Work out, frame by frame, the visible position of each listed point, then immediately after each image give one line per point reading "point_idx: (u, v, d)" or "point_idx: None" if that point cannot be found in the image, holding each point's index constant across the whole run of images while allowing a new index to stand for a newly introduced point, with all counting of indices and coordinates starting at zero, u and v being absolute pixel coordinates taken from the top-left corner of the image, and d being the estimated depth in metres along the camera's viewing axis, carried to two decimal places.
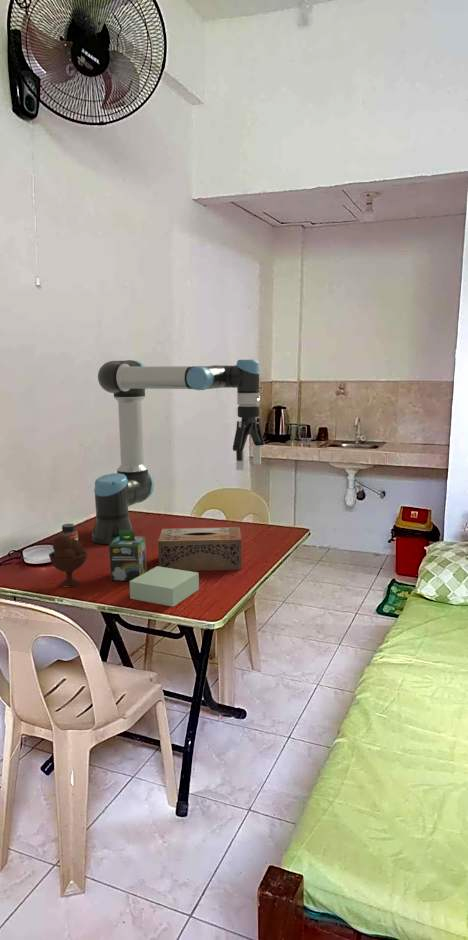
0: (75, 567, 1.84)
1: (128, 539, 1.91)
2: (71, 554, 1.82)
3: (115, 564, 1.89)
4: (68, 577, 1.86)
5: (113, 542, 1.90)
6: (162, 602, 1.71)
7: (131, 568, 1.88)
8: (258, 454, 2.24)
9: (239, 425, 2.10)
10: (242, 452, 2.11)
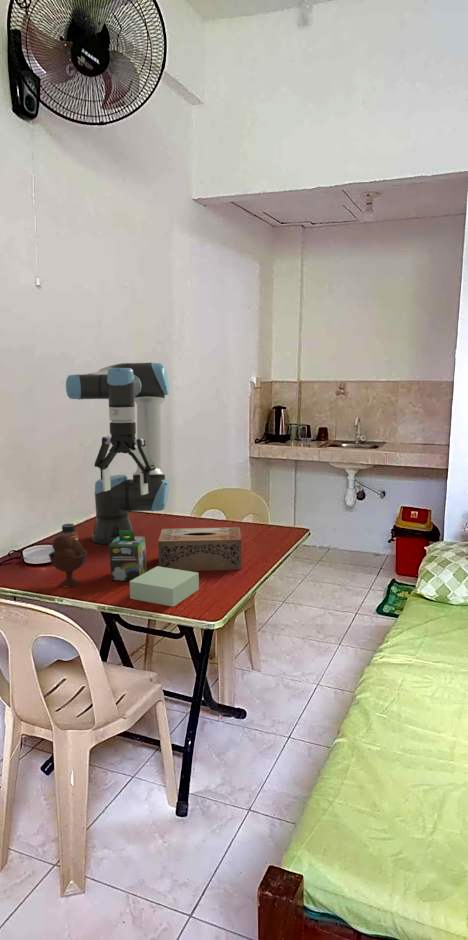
0: (75, 567, 1.84)
1: (128, 539, 1.91)
2: (71, 554, 1.82)
3: (115, 564, 1.89)
4: (68, 577, 1.86)
5: (113, 542, 1.90)
6: (162, 602, 1.71)
7: (131, 568, 1.88)
8: None
9: None
10: None
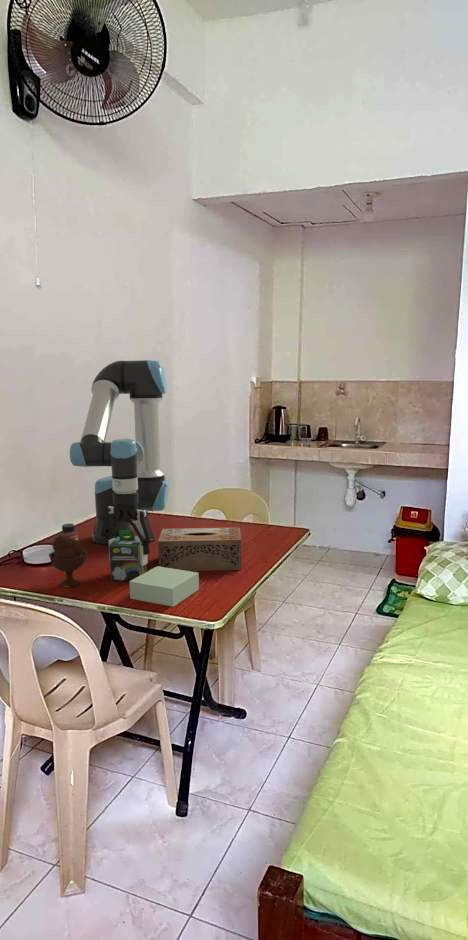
0: (75, 567, 1.84)
1: (128, 539, 1.91)
2: (71, 554, 1.82)
3: (115, 563, 1.89)
4: (68, 577, 1.86)
5: (113, 542, 1.90)
6: (162, 602, 1.71)
7: (131, 567, 1.88)
8: None
9: None
10: None
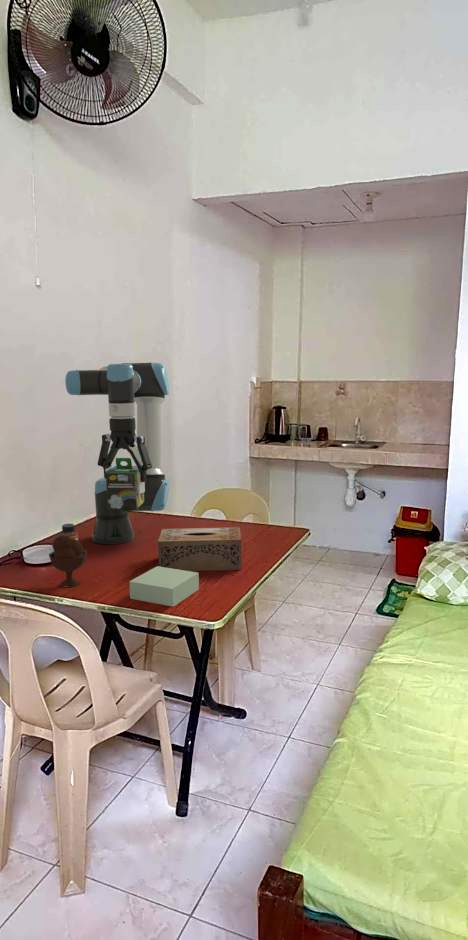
0: (75, 567, 1.84)
1: (125, 467, 1.87)
2: (71, 554, 1.82)
3: (111, 491, 1.85)
4: (68, 577, 1.86)
5: (110, 469, 1.86)
6: (162, 602, 1.71)
7: (128, 495, 1.84)
8: None
9: None
10: None
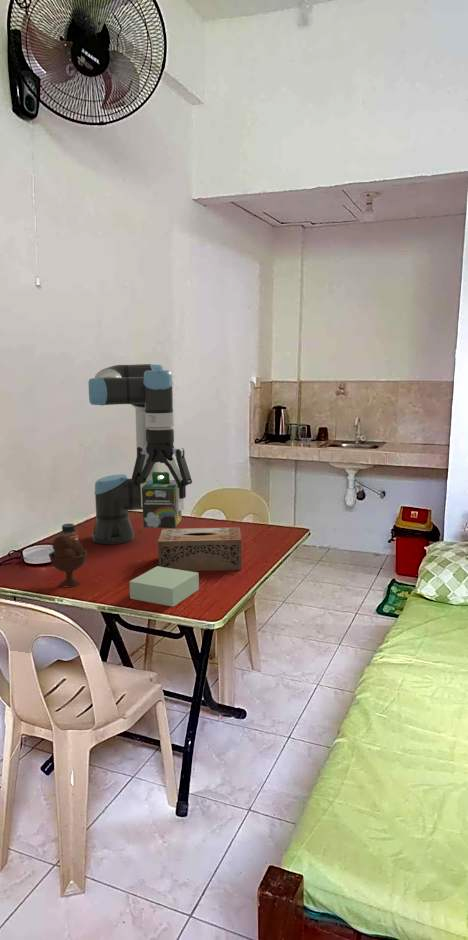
0: (75, 567, 1.84)
1: (162, 482, 1.72)
2: (71, 554, 1.82)
3: (148, 508, 1.70)
4: (68, 577, 1.86)
5: (146, 485, 1.71)
6: (162, 602, 1.71)
7: (166, 513, 1.69)
8: None
9: None
10: None
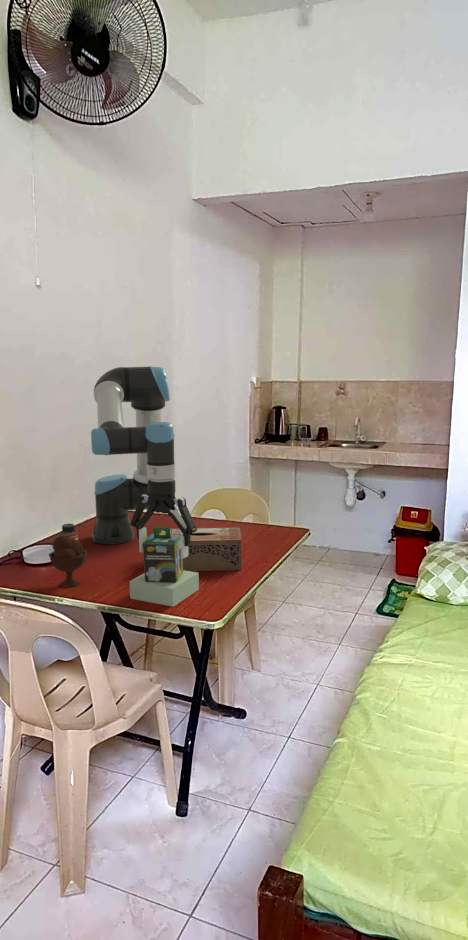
0: (75, 567, 1.84)
1: (163, 536, 1.75)
2: (71, 554, 1.82)
3: (149, 563, 1.73)
4: (68, 577, 1.86)
5: (147, 540, 1.74)
6: (162, 602, 1.71)
7: (166, 568, 1.72)
8: None
9: None
10: None
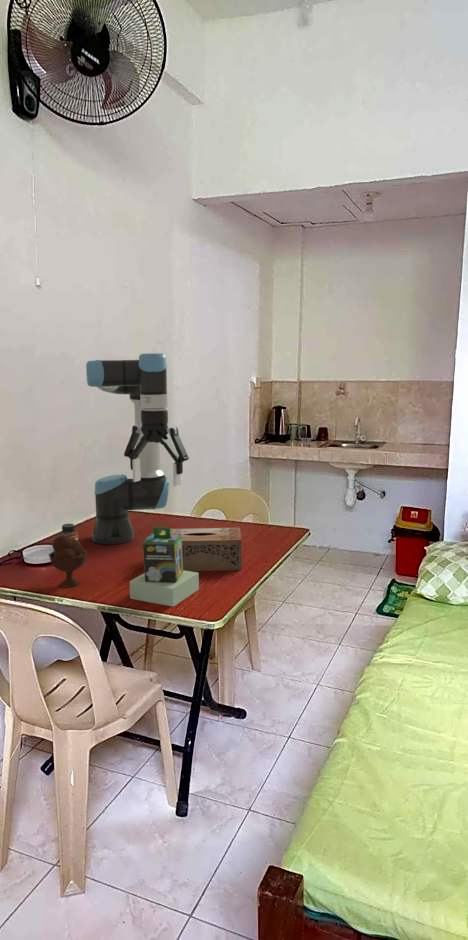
0: (75, 567, 1.84)
1: (163, 536, 1.75)
2: (71, 554, 1.82)
3: (149, 563, 1.73)
4: (68, 577, 1.86)
5: (147, 539, 1.74)
6: (162, 602, 1.71)
7: (166, 568, 1.72)
8: None
9: None
10: None
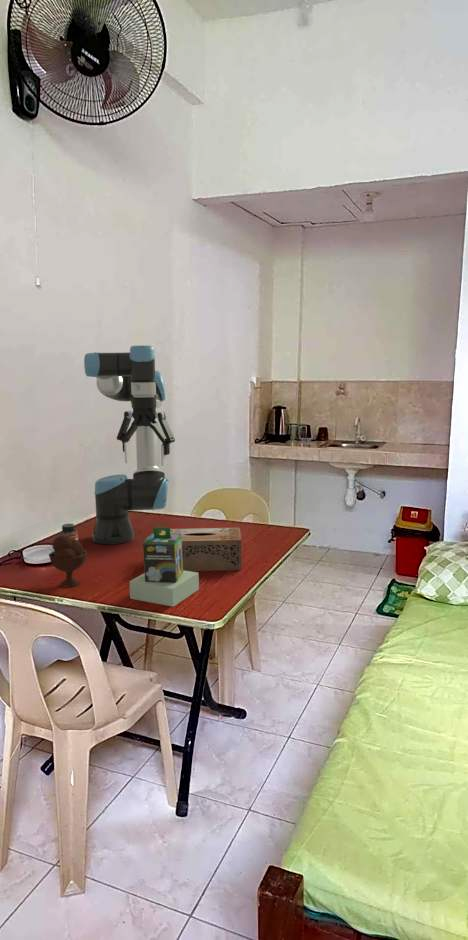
0: (75, 567, 1.84)
1: (163, 536, 1.75)
2: (71, 554, 1.82)
3: (149, 563, 1.73)
4: (68, 577, 1.86)
5: (147, 539, 1.74)
6: (162, 602, 1.71)
7: (166, 568, 1.72)
8: None
9: None
10: None
